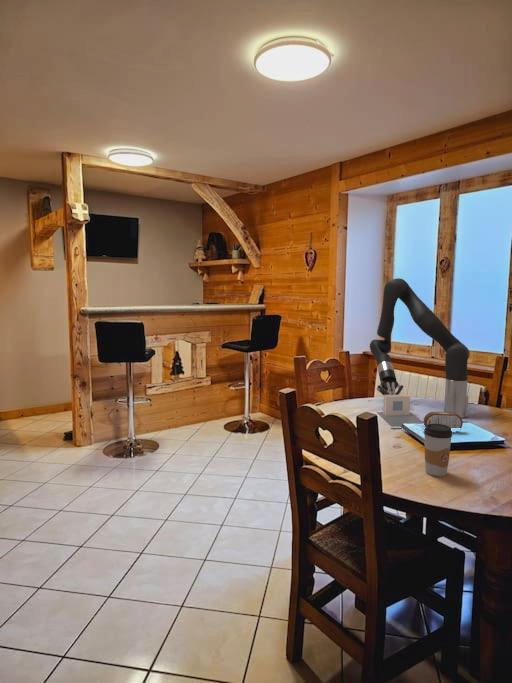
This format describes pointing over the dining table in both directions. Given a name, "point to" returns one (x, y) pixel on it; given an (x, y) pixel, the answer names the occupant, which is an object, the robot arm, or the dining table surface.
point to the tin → (444, 419)
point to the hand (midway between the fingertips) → (393, 403)
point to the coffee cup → (437, 449)
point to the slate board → (400, 419)
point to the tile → (396, 405)
